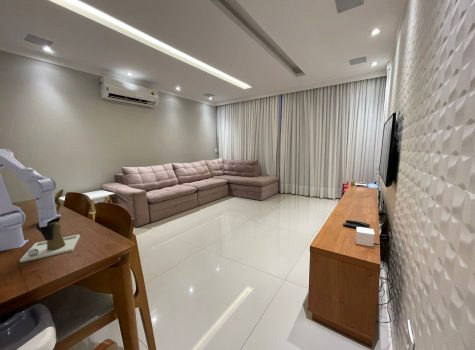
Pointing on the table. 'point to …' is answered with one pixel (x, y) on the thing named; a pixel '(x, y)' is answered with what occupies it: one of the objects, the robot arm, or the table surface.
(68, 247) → the tray
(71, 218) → the table surface
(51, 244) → the cork
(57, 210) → the wooden mug
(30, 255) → the mixing ball
